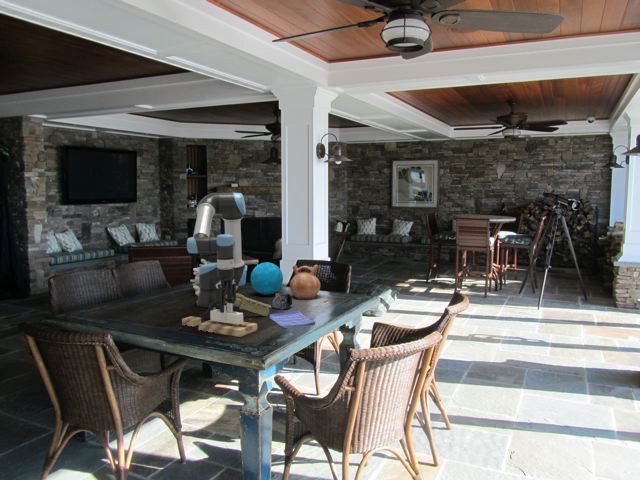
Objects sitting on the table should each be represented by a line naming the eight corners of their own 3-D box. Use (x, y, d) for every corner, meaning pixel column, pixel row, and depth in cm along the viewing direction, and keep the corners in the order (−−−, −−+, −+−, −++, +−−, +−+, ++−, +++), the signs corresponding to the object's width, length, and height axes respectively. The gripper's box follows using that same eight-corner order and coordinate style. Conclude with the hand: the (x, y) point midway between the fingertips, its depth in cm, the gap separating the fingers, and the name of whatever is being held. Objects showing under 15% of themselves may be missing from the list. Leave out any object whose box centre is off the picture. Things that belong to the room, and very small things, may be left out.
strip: (210, 325, 248) (210, 310, 247) (216, 323, 252) (215, 308, 251) (237, 329, 240) (237, 314, 240) (243, 327, 244) (243, 312, 243)
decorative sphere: (258, 290, 341) (257, 259, 339) (287, 292, 335) (287, 260, 333) (245, 296, 321) (245, 264, 320) (276, 298, 316) (276, 265, 314)
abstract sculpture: (244, 260, 344) (198, 249, 334) (246, 280, 325) (197, 269, 315) (233, 289, 354) (188, 279, 344) (234, 309, 335) (186, 300, 325)
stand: (182, 325, 255) (182, 318, 255) (190, 322, 261) (190, 316, 260) (192, 326, 252) (192, 320, 252) (201, 323, 257) (201, 317, 257)
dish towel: (299, 315, 277) (299, 309, 277) (316, 325, 255) (316, 320, 255) (267, 318, 270) (267, 312, 270) (282, 329, 248) (282, 323, 248)
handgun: (204, 315, 268) (215, 284, 268) (260, 333, 276) (271, 303, 276) (204, 317, 264) (215, 286, 264) (261, 335, 271) (272, 305, 271)
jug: (322, 294, 327) (322, 262, 325) (317, 300, 309) (317, 267, 307) (293, 293, 330) (293, 262, 328) (286, 299, 313) (286, 266, 311)
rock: (291, 305, 285) (283, 288, 287) (274, 314, 287) (267, 296, 289) (298, 305, 295) (290, 289, 297) (282, 313, 297) (275, 297, 300)
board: (198, 330, 246) (198, 323, 246) (216, 323, 257) (216, 317, 257) (240, 336, 234) (240, 330, 234) (257, 330, 246) (257, 323, 245)
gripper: (220, 271, 234) (221, 323, 236) (243, 266, 249) (244, 315, 251) (206, 270, 238) (208, 321, 240) (230, 265, 253) (231, 313, 255)
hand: (226, 318), depth 246 cm, fingers closed on strip, 4 cm apart
